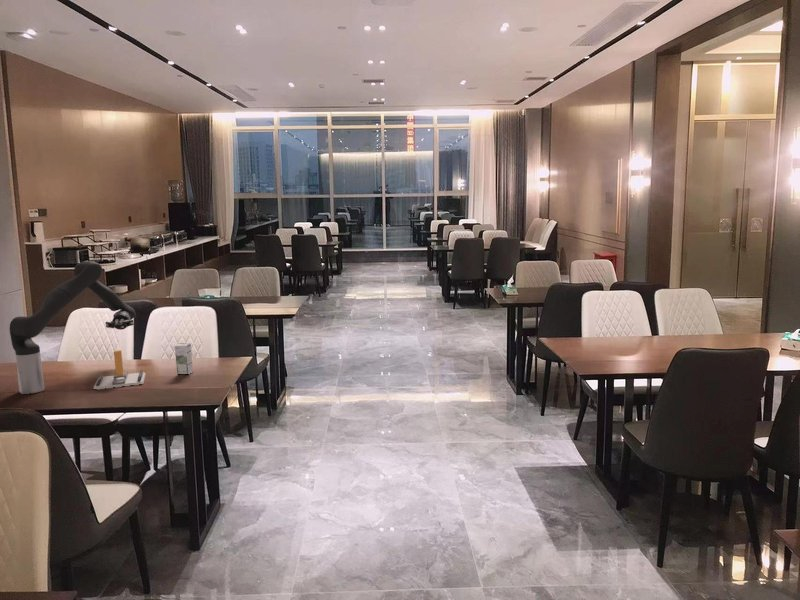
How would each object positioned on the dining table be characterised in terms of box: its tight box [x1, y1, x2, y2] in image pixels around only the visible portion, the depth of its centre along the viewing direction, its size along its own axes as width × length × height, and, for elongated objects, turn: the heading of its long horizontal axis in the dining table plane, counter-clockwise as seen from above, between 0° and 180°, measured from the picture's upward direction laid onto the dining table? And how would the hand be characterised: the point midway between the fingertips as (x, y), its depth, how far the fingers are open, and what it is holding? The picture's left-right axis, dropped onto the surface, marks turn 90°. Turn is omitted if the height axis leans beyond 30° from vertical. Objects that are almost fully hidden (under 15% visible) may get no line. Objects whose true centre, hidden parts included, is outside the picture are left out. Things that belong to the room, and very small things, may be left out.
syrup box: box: [174, 342, 194, 375], centre depth 299 cm, size 6×6×14 cm
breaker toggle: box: [113, 349, 127, 378], centre depth 288 cm, size 5×3×12 cm, turn 108°
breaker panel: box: [93, 370, 146, 390], centre depth 289 cm, size 20×18×3 cm
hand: (117, 326), depth 295 cm, fingers closed
